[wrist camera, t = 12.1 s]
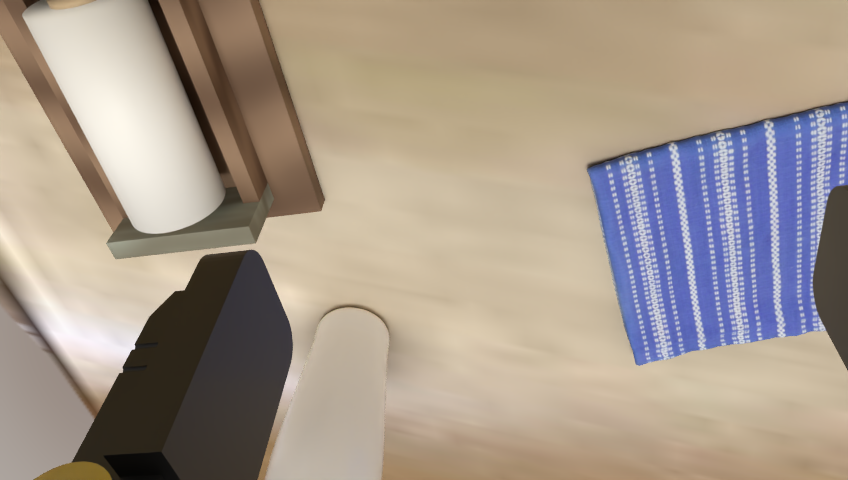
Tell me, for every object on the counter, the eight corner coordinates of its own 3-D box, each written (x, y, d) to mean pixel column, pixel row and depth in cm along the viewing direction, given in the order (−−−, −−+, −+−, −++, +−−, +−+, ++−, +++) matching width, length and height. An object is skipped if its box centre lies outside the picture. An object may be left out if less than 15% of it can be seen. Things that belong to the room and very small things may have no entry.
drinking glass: (297, 345, 53) (244, 533, 41) (323, 283, 49) (272, 472, 37) (382, 371, 54) (354, 562, 42) (414, 313, 50) (392, 506, 38)
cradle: (-44, -76, 35) (-120, -43, 31) (215, -130, 33) (173, -103, 29) (122, 224, 47) (85, 280, 42) (324, 200, 44) (307, 256, 40)
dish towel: (998, 286, 46) (1024, 317, 44) (627, 350, 52) (634, 379, 49) (1046, 44, 36) (1083, 67, 34) (583, 156, 42) (589, 182, 40)
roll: (51, -18, 36) (-4, 21, 31) (153, -37, 35) (110, 1, 30) (152, 188, 43) (118, 243, 39) (237, 176, 42) (213, 231, 38)
